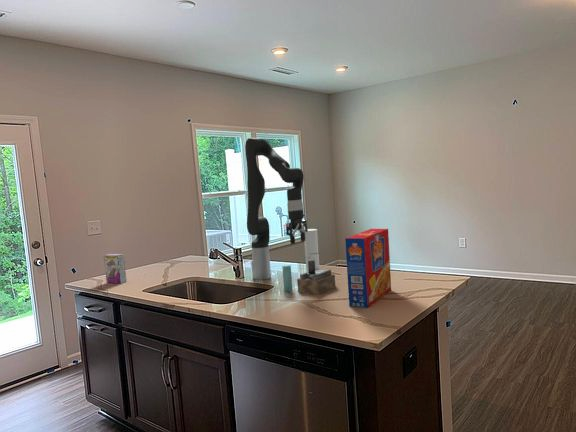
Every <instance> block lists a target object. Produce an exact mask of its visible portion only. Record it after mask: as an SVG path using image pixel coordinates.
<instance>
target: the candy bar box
mask: <svg viewBox="0 0 576 432" xmlns="http://www.w3.org/2000/svg"><path fill="white" fill-rule="evenodd" d="M124 255H125V254H123V253H121V254H119V253H108V254H104V255H103V263H104V268H105V269H104V270H105V271H104V272H105V280H106V283H107V284H116V285H117V284H118V285H120V284H124V283H127V273H126V264H125V262H126V261H125V256H124Z"/></svg>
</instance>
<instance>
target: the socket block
mask: <svg viewBox="0 0 576 432" xmlns="http://www.w3.org/2000/svg"><path fill="white" fill-rule="evenodd" d="M315 270H318V269H315ZM325 270H326V271H324V272H321V273H319V274H316V275H313V278H307V273H309V272H306V271H305V272H303V273H301V274H300V275H299V276H300V277H299V278H297V279H296V280H297V292H300V293H308V294H316V295H321V294H323V293H326V292H327V291H329V290H332V289H334V288H336V275H335V274H333V273H332V269H325Z"/></svg>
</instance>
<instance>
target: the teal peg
mask: <svg viewBox="0 0 576 432" xmlns="http://www.w3.org/2000/svg"><path fill="white" fill-rule="evenodd" d="M281 267H282V279H283V281H282V282H283V291H284V292H285V293H291V292H293V280H292V279H293V277H292V265H289V264H284V265H282V266H281Z"/></svg>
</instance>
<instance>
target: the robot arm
mask: <svg viewBox="0 0 576 432" xmlns="http://www.w3.org/2000/svg"><path fill="white" fill-rule="evenodd" d="M244 150H245V159H246V160H245V161H246V171H247V173H246V175H247V176H246V177H247V181H246V182H247V215H246V216H247V218H246V229H247V232H248V234H249V235H250V236H256V237H255V238H254V240H252V241H251V254H252V255H251V256H252V260H251V274H252V279H254V280H256V279H257V280H258V281H263V280H268V279H270V278H271V277H272V273H271V262H270V261H271V260H270V248H269V247H270V245H269V243H270V236H271V235H270V224H269V220H268V219H267V217H264V216H259V212H260V211H259V209H260V206H261V204H262V201H263V199H264V197H265V194H266V184H265V183H266V181H265V178H264V176H263V174H262V172H261V170H260V169H259V167H258V162H257V157H258V156H259V157H260V156H263V157H265V158H267V160H268V164H269V166H270V167H271V169H273V170H274V171H275V172H277V173H278V176H279V177H280V178H281V180H282V181H284V182H285V183H287V184H292V186H291V187H289V188H288V189H286V197H287V198H286V199H287V203H286V204H287V217H288V220H290V222H286V223H285V228H286V229H285V231H286V236H289V242H290V244H291V245H295V244H296V237H295V234H296V233H297V232H299V233H300V241H301V242H304V241H305V233H306V232H307V231H308V229H309V228H308V223H307V221H308V220H307V219H304V218H305V213H304V205H303V198H302V197H303V194H302V189H303V183H304V177H305V176H304V172H303V170H302V169H301V168H300V167H292V168H291V166H290V163H289V162H288V161H287V160H285V159H284V157H282V156H280V155H279V154H278V153H277V152H276V150H275V149H274V148H273V147H272V145H270V144H269V142H268V141H267V140H266V139H265V138H262V137H249V138H247V139H246V141H245V144H244Z"/></svg>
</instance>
